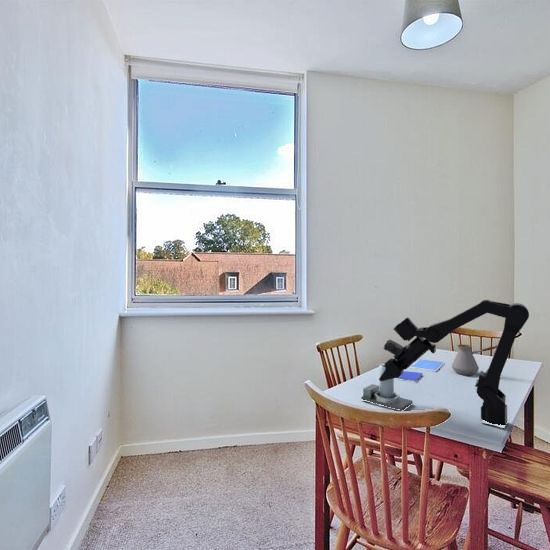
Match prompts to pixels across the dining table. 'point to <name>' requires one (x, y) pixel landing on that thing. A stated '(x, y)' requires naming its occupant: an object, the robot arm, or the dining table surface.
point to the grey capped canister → (386, 385)
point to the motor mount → (373, 396)
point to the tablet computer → (427, 365)
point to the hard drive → (410, 376)
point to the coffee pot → (466, 360)
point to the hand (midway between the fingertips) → (383, 377)
